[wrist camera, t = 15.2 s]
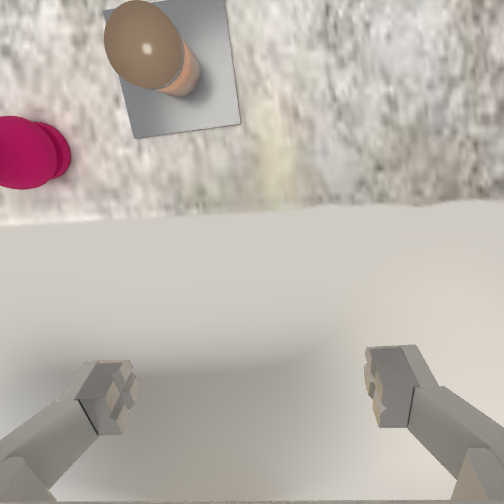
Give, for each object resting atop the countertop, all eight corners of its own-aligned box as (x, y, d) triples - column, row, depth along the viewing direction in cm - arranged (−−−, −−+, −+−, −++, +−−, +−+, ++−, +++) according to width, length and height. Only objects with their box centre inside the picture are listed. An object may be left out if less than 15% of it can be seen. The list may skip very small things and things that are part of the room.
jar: (195, 35, 32) (168, -8, 22) (207, 93, 34) (186, 79, 24) (143, 45, 33) (93, 8, 22) (158, 103, 35) (117, 93, 24)
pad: (223, -6, 32) (223, -9, 31) (240, 123, 36) (240, 123, 35) (106, 13, 32) (102, 10, 32) (136, 138, 37) (134, 138, 36)
